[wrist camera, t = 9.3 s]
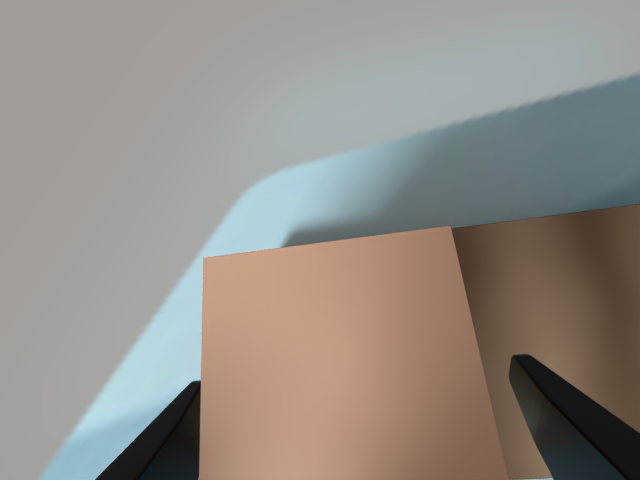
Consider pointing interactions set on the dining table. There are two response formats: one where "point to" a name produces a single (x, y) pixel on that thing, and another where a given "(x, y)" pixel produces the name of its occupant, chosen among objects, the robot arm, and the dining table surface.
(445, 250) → the block
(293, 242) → the dining table surface
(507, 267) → the board
